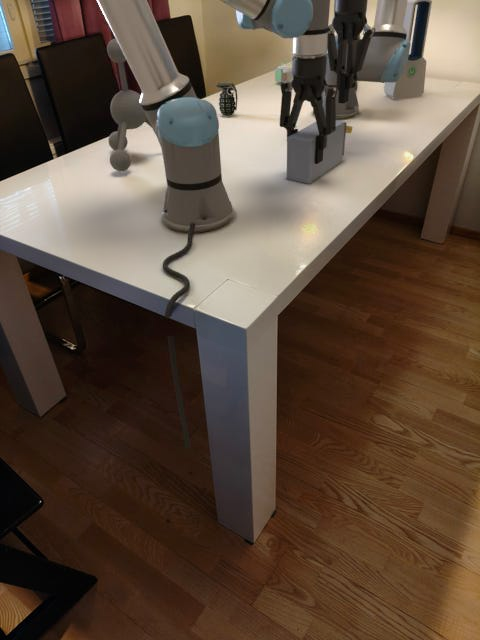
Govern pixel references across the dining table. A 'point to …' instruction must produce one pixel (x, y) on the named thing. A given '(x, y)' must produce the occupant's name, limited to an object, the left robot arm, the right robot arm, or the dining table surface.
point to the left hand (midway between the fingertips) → (305, 159)
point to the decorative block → (284, 72)
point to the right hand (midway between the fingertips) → (343, 101)
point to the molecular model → (123, 112)
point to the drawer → (346, 130)
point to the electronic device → (413, 53)
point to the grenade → (227, 99)
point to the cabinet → (313, 153)
